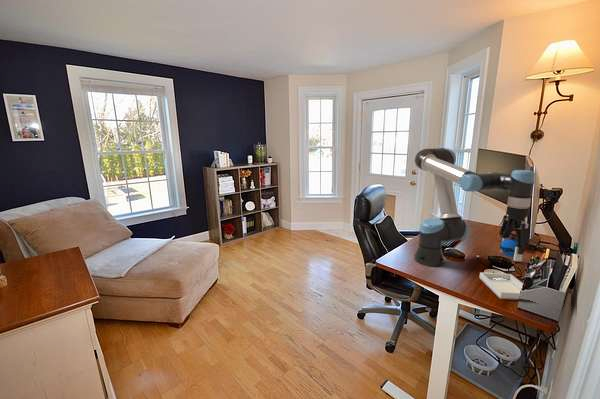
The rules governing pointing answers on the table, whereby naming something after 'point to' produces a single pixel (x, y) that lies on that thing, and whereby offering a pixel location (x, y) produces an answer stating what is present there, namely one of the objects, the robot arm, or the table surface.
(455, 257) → the table surface
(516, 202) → the robot arm
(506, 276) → the bin
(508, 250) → the ornament
